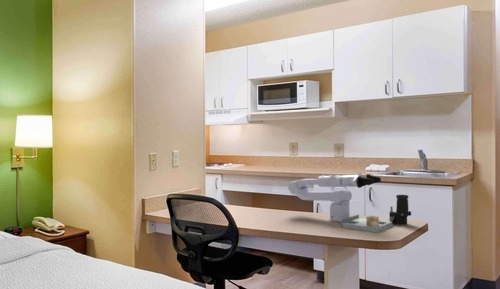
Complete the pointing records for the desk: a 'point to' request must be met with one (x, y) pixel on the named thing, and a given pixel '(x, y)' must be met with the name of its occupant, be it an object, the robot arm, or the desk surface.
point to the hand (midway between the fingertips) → (376, 180)
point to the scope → (400, 211)
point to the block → (372, 221)
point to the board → (363, 224)
